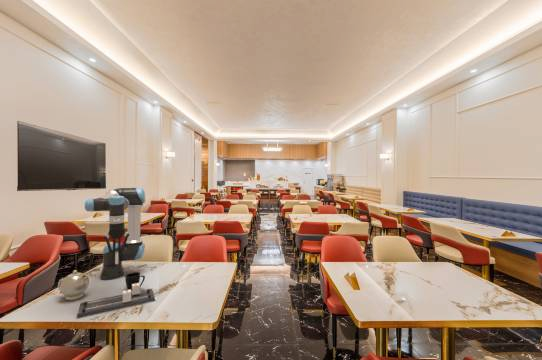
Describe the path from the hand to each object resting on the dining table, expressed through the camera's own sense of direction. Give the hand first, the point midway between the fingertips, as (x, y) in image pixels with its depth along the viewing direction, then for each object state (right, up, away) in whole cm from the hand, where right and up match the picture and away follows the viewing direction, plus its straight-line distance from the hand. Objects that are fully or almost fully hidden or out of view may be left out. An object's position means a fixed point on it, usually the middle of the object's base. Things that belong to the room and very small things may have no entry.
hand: (116, 263), depth 145 cm
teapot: (-29, -22, +5) cm, 37 cm away
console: (+3, -22, -3) cm, 22 cm away
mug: (+2, -22, +16) cm, 28 cm away
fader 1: (+9, -19, -4) cm, 22 cm away
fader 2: (+8, -19, +5) cm, 22 cm away
